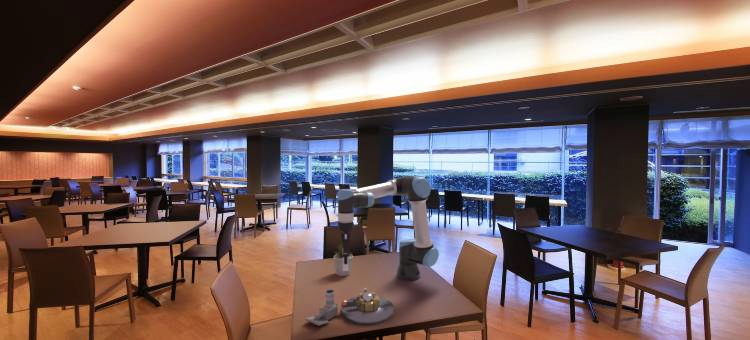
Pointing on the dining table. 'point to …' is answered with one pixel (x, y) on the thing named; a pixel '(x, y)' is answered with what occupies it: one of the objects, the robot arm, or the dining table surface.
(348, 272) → the potted plant
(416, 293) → the dining table surface
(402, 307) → the dining table surface
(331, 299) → the camera
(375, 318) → the cap plate
